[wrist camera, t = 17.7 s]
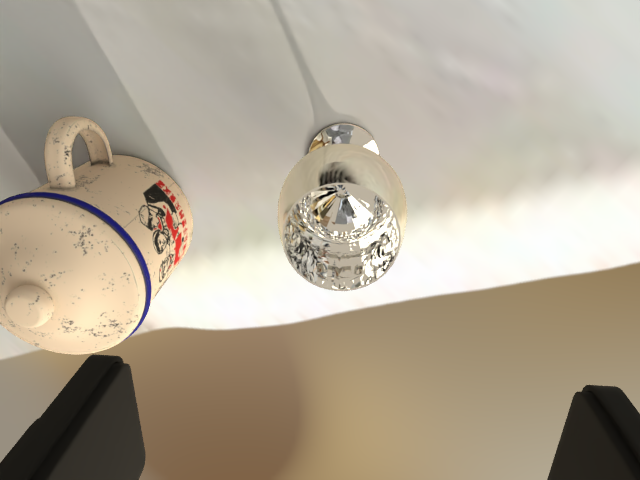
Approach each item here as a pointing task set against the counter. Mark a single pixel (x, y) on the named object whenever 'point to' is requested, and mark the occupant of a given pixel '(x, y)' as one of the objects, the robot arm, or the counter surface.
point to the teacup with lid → (88, 245)
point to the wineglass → (342, 211)
